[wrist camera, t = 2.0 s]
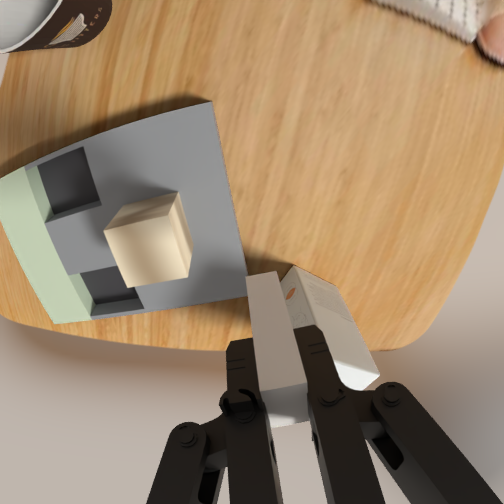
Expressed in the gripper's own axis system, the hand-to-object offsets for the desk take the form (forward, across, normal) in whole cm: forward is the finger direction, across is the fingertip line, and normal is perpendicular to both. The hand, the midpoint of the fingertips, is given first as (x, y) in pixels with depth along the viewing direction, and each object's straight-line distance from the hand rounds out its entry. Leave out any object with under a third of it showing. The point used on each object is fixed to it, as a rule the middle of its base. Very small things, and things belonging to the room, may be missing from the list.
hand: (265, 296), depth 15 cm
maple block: (+12, -8, 0) cm, 14 cm away
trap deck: (+14, -13, 0) cm, 19 cm away
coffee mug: (+14, -10, +21) cm, 27 cm away
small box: (+14, +3, -13) cm, 19 cm away
